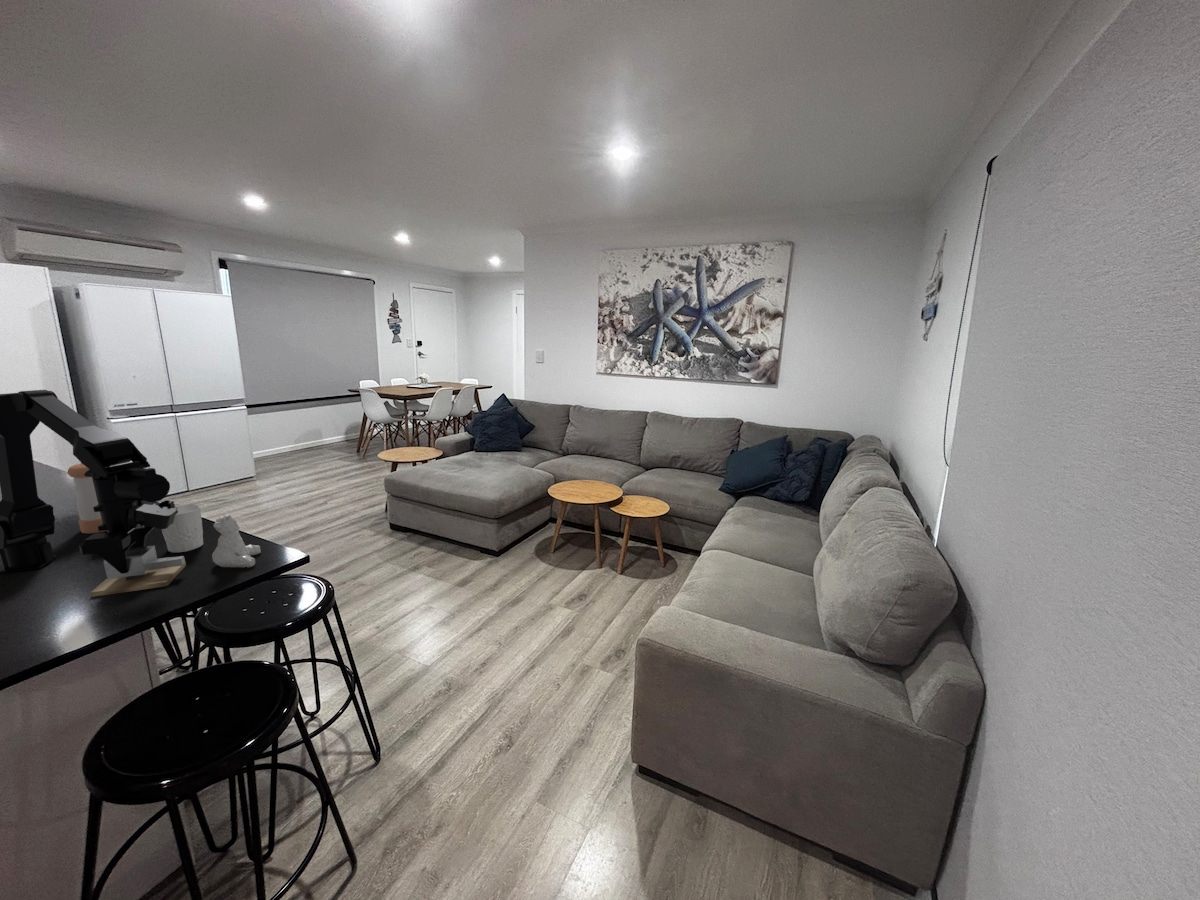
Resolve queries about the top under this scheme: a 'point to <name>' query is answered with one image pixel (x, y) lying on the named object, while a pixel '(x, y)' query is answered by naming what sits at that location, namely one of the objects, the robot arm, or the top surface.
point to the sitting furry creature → (232, 545)
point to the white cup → (185, 529)
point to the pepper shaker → (85, 499)
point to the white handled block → (143, 562)
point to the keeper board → (138, 581)
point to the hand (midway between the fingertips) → (132, 566)
